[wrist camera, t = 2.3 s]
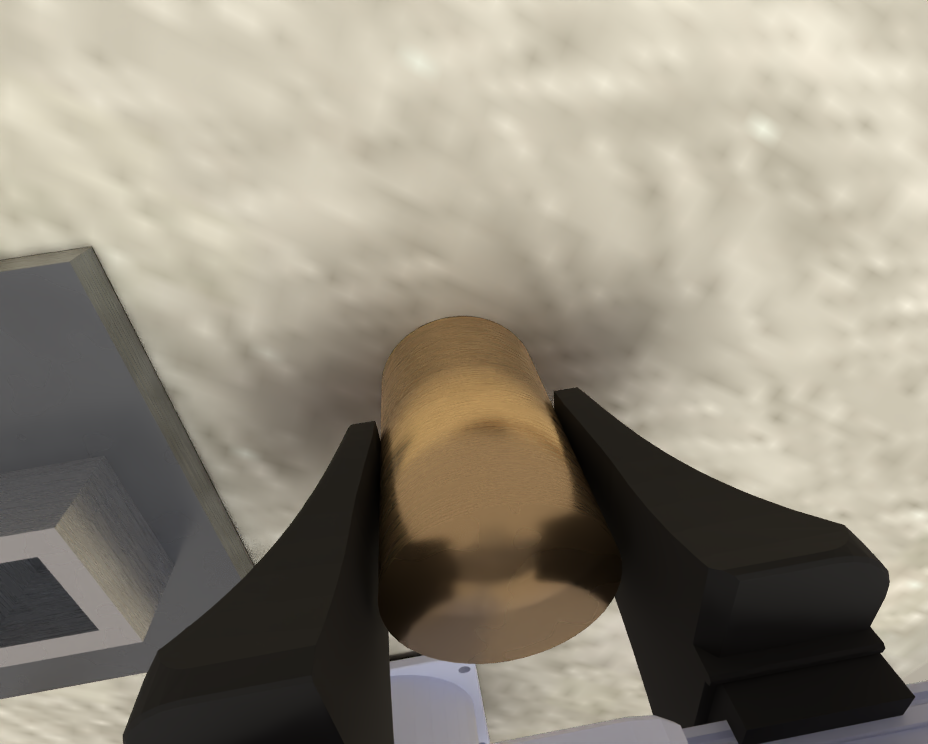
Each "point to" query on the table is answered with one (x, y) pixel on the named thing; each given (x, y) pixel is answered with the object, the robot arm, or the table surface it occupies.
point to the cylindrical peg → (483, 503)
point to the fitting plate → (94, 488)
